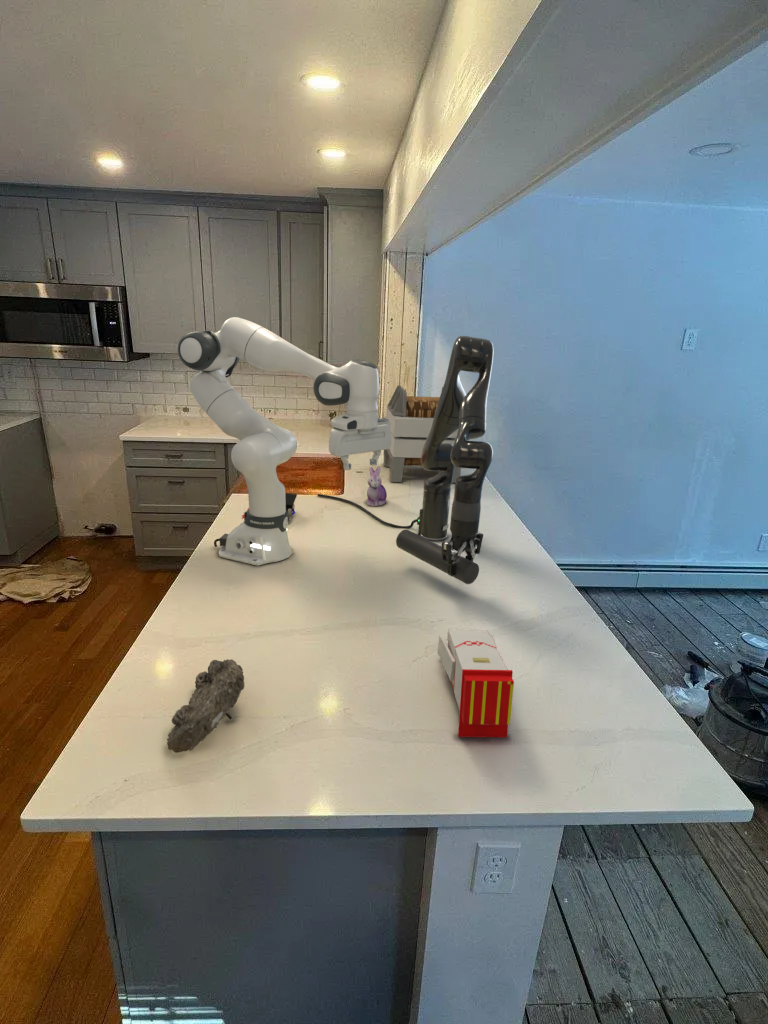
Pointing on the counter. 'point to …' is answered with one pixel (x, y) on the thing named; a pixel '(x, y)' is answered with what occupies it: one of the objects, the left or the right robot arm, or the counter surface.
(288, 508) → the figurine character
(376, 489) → the figurine
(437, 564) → the rod
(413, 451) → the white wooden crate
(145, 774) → the counter surface
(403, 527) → the right robot arm
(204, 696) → the fossil
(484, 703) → the toy
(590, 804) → the counter surface
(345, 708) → the counter surface
